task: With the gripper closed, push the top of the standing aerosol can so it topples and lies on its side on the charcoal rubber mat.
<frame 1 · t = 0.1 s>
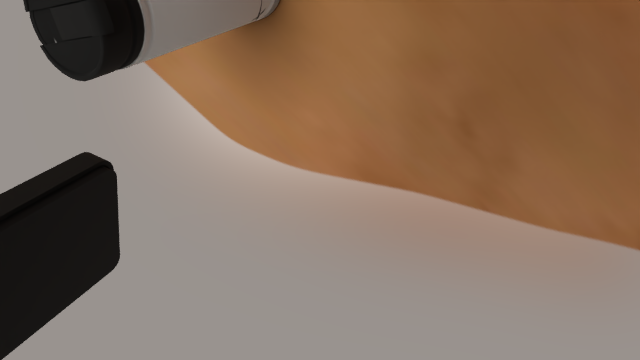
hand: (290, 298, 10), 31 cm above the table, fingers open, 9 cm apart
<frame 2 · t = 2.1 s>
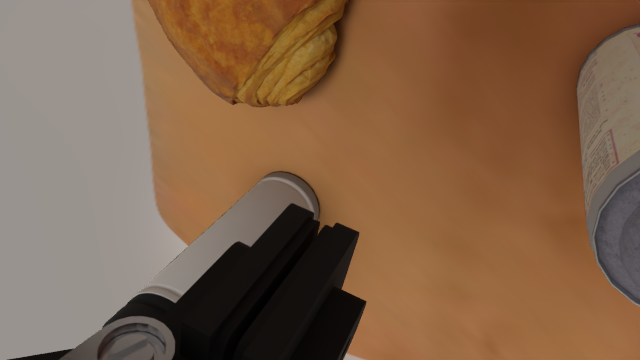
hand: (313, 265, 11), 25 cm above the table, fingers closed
travel mug: (291, 200, 44), on the table
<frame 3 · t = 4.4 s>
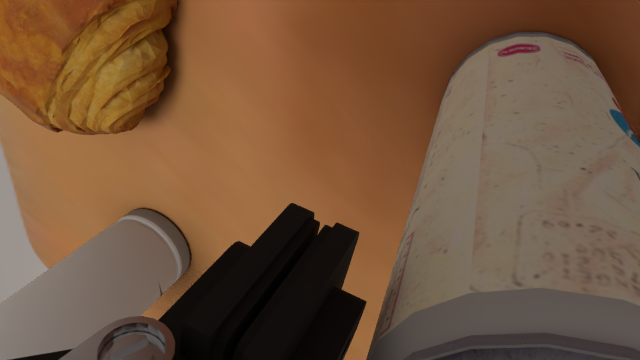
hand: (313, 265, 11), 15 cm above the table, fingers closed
travel mug: (161, 241, 37), on the table
aerosol can: (520, 106, 22), on the table, touching gripper
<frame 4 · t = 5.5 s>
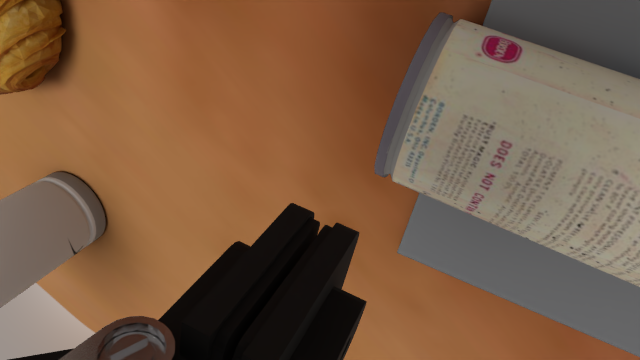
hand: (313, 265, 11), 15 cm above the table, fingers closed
travel mug: (80, 204, 39), on the table
aerosol can: (404, 94, 20), point 4 cm above the table, touching mat
mat: (639, 149, 21), on the table
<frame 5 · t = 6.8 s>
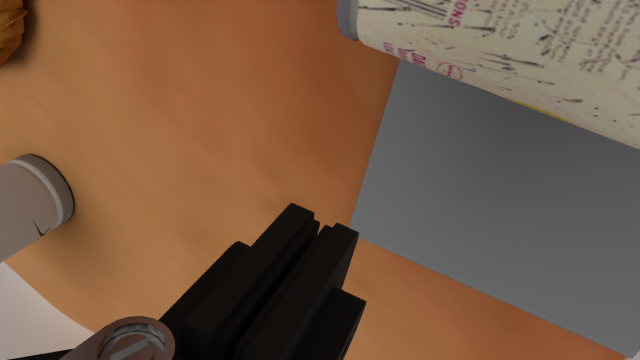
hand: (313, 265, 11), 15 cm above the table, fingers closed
travel mug: (48, 187, 40), on the table
mat: (566, 128, 22), on the table
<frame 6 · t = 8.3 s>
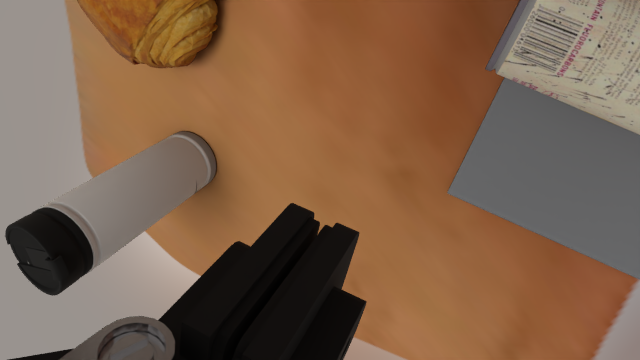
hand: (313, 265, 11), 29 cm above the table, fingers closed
travel mug: (194, 157, 51), on the table
aerosol can: (508, 16, 30), point 4 cm above the table, touching mat
mat: (610, 125, 34), on the table
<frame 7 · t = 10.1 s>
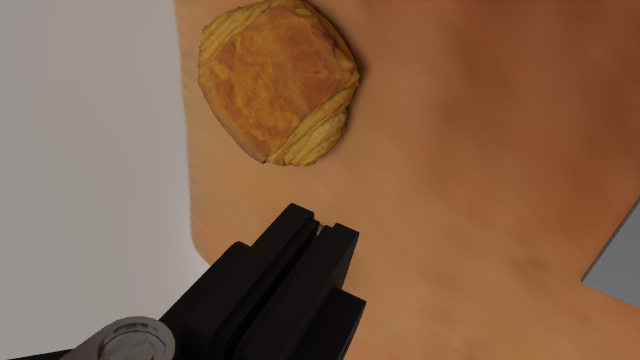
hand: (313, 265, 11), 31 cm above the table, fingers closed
croissant: (292, 75, 45), on the table
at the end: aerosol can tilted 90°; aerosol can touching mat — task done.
